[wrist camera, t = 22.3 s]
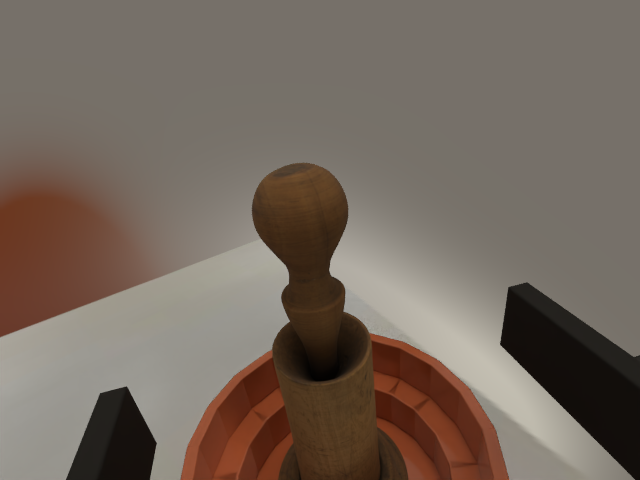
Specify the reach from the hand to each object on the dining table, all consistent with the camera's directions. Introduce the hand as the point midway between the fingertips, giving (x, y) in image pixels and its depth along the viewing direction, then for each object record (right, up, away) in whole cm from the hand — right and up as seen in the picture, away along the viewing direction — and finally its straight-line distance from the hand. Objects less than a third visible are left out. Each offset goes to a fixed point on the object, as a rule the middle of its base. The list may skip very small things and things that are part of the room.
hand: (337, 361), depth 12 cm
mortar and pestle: (+1, -10, +7) cm, 12 cm away
